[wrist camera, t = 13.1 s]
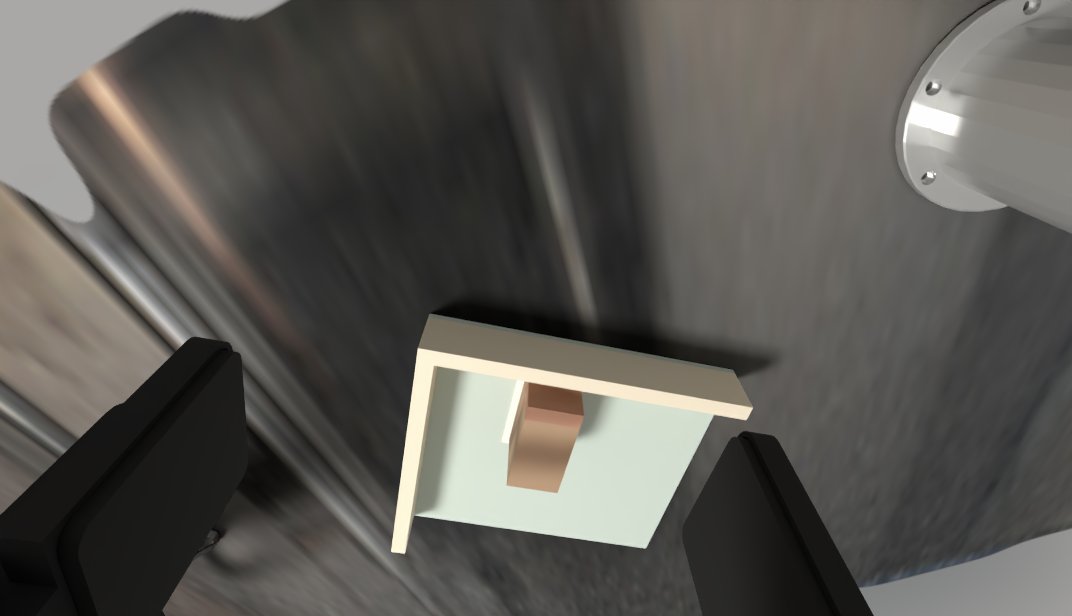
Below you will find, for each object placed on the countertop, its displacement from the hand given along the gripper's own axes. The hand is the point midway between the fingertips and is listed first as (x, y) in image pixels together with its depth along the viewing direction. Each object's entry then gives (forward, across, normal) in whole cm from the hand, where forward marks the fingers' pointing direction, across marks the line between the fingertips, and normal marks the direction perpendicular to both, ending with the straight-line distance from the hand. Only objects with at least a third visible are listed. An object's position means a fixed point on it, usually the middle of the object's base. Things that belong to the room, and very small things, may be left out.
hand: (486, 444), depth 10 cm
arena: (+26, -8, +25) cm, 37 cm away
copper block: (+26, -6, +20) cm, 33 cm away
